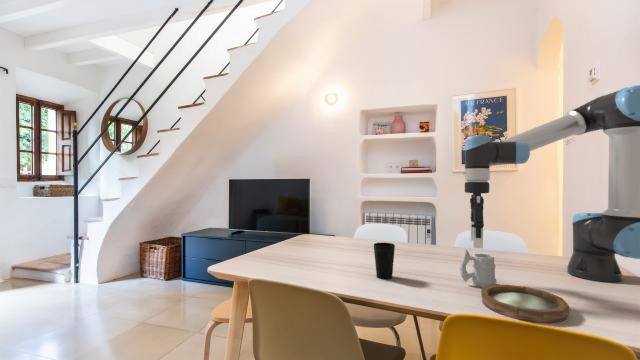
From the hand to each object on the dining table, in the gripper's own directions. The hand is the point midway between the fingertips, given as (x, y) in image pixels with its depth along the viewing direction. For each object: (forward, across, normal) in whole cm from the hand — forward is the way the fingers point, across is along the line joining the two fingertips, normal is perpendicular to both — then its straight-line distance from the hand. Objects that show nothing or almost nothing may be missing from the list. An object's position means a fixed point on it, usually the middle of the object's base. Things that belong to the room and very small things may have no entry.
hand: (476, 244), depth 107 cm
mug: (+14, 0, 0) cm, 14 cm away
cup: (+14, +3, -30) cm, 34 cm away
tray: (+14, +16, +10) cm, 23 cm away
